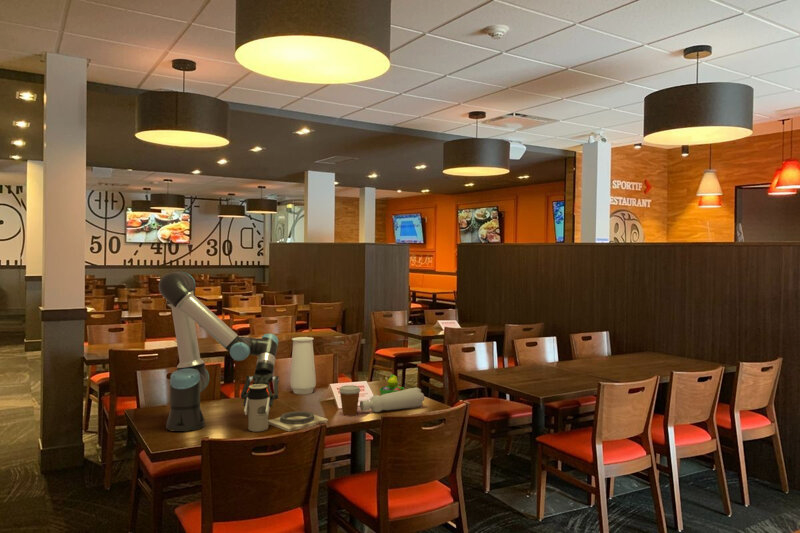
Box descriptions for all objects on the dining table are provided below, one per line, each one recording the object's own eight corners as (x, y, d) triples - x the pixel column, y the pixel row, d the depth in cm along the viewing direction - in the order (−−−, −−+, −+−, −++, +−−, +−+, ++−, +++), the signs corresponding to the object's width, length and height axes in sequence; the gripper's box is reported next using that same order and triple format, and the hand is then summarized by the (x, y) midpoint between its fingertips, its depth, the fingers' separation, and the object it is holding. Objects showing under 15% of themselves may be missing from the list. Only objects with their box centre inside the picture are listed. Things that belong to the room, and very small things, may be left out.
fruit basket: (379, 399, 302) (378, 377, 302) (383, 395, 311) (383, 373, 310) (401, 400, 300) (401, 377, 299) (405, 396, 308) (405, 374, 308)
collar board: (288, 431, 249) (288, 424, 249) (266, 423, 261) (265, 416, 261) (328, 422, 263) (327, 415, 263) (304, 414, 275) (304, 407, 275)
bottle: (414, 396, 295) (356, 405, 282) (419, 382, 290) (360, 391, 277) (422, 410, 288) (363, 420, 275) (427, 396, 283) (367, 406, 270)
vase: (285, 393, 315) (285, 339, 314) (299, 388, 327) (298, 336, 326) (307, 396, 310) (307, 340, 309) (320, 390, 322) (320, 337, 321)
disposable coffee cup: (352, 417, 269) (351, 390, 269) (334, 414, 274) (334, 388, 274) (364, 413, 277) (364, 386, 277) (347, 410, 282) (347, 384, 282)
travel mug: (247, 427, 254) (246, 384, 254) (266, 425, 257) (265, 383, 257) (250, 433, 247) (249, 388, 246) (270, 430, 250) (269, 386, 250)
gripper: (290, 371, 267) (283, 417, 251) (242, 371, 267) (232, 417, 251) (288, 361, 261) (280, 408, 246) (239, 361, 262) (228, 408, 246)
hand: (256, 413), depth 249 cm, fingers closed on travel mug, 8 cm apart
